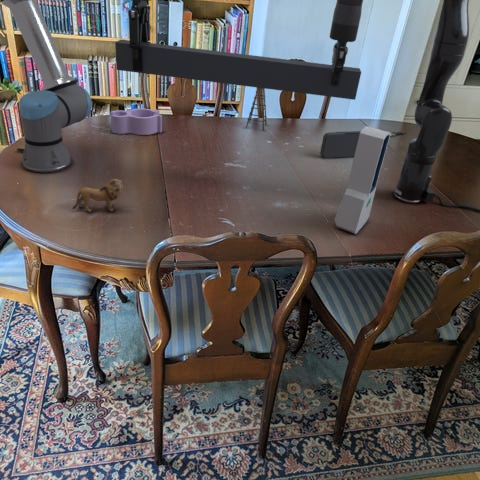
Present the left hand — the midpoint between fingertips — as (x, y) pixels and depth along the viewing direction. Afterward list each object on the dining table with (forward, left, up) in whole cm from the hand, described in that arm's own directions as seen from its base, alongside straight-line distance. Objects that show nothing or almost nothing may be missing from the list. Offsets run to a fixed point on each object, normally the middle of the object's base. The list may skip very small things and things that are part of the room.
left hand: (140, 68), depth 144 cm
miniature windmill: (+34, +60, -34) cm, 77 cm away
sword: (+93, +67, -34) cm, 120 cm away
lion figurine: (-4, -30, -34) cm, 45 cm away
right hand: (+59, 0, +3) cm, 60 cm away
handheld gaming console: (+73, +38, -34) cm, 89 cm away
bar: (+30, 0, -1) cm, 30 cm away
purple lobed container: (-14, +36, -34) cm, 52 cm away
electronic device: (+71, -18, -34) cm, 81 cm away
